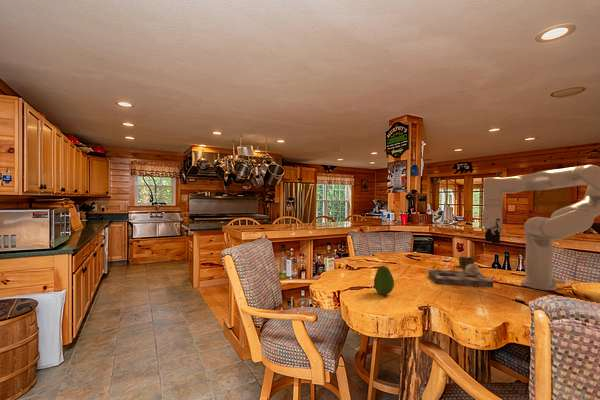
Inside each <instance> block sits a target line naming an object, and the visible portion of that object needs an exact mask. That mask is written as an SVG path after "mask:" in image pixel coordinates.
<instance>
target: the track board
mask: <svg viewBox="0 0 600 400" xmlns="http://www.w3.org/2000/svg"><path fill="white" fill-rule="evenodd" d="M428 277H429V278H430V279H431V280H432V281H433V282H434V283H435V285H452V286H466V287H467V286H469V287H488V288H493V287H494V279H493V278H488V277H487V276H484V275H483V274H481V271H480V273H479V275H478V276H476V277H471V276H469V275H468V274H467V273H466V271H463V270H461V269H460V270H456V269H454V270H453V269H436V268H435V269H434V268H429V269H428Z"/></svg>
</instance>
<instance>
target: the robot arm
mask: <svg viewBox="0 0 600 400" xmlns="http://www.w3.org/2000/svg"><path fill="white" fill-rule="evenodd" d="M579 186H587V188H586V190H585V194H584V196H583V198H582V200H580V201H577V202H576V203H572V204H570V205H567V206H564V207H562V208H559V209H557V210H555V211H553V212H552V213H551V215H550V217H544V216H533V217H530V218H528V219H527V220H526V221H525V222H524V226H523V231H524V236H525V277H524V279H523V280H521V281H520V283H521V285H522V286H525V287H527V288H529V289H530V288H531V289H535V290H541V291H556V290H557V289H558V286H557V285H565V284H566V281H565V279H558V278H555V277H553V273H554V271H553V269H554V267H553V263H554V261H553V259H554V258H553V257H554V247H553V246H554V245H553V241H559V240H560V241H561V240H562V239H565V238H568V237H572V236H574V235H577V234H579V233H583V232H585V231H587V230H589V229H590V228H591V227H592V226H593V224H594V221H595V218H597V217H599V216H600V166H598V165H594V164H586V165H578V166H573V167H572V166H571V167H564V168H558V169H557V168H556V169H549V170H541V171H538V172H534V173H529V174H528V173H527V174H524V175H523V174H522V175H515V176H509V177H507V176H506V177H497V176H496V177H493V176H492V177H485V178H484V179H483V192H482V193H483V203H482V204H483V206H482V207H483V209H482V216H481V217H482V218H481V226H482V227H483V228H484V241H485V242H491V243H492V244H499V245H500V244H501V234H502V233H501V232H502V230H503V209H502V208H503V204H504V203H503V199H504V198H503V197H504V194H517V193H520V192H526V191H546V190H554V189H561V188H570V187H579Z"/></svg>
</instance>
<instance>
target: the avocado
mask: <svg viewBox="0 0 600 400" xmlns="http://www.w3.org/2000/svg"><path fill="white" fill-rule="evenodd" d="M373 286H374V289H375V291H376V292H377V293H378V295H381V296H386V295H389V294H391V292H392V291H393V289H394V288H395V287H394V286H395V280H394V277H393V275H392V273H391V271H390V269H389V268H388V267H387V266H385V265H381V266H379V267H378V268H377V269H376V273H375V276H374V279H373Z"/></svg>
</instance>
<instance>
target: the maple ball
mask: <svg viewBox="0 0 600 400" xmlns="http://www.w3.org/2000/svg"><path fill="white" fill-rule="evenodd" d="M465 271H466V273H467V274H468V275H469V276H471V277H476V276H478V275H479V273H480V272H481V270H480V267H479V266H478V265H477V264H475V263H474V264H469V265H467V266H466V268H465Z"/></svg>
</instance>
